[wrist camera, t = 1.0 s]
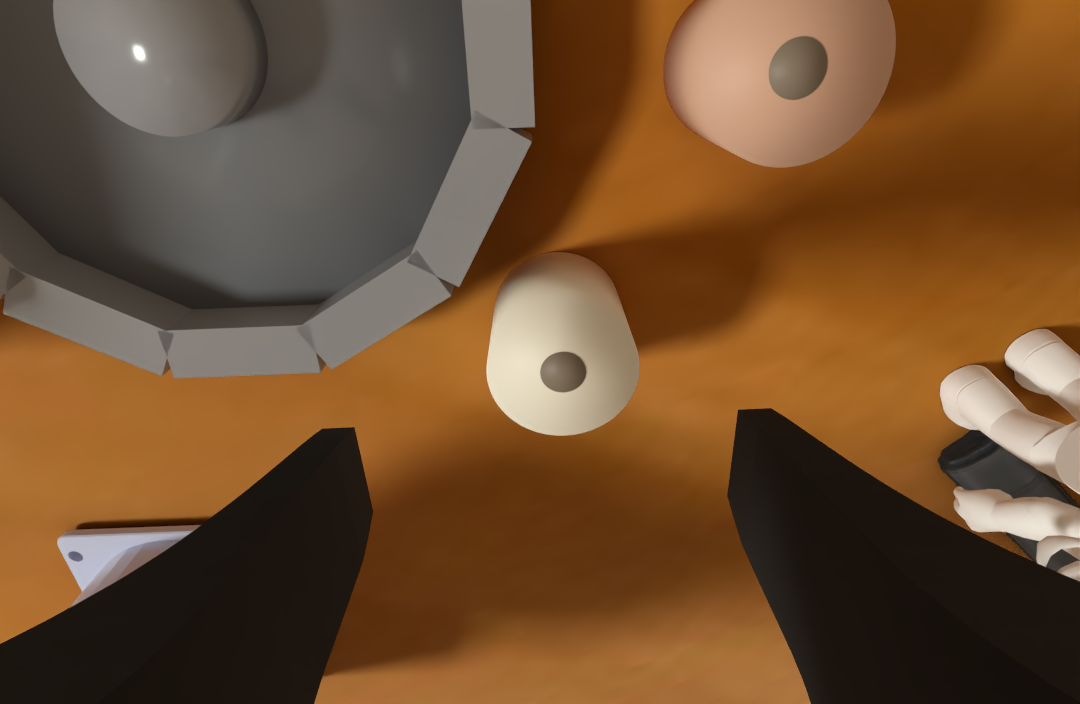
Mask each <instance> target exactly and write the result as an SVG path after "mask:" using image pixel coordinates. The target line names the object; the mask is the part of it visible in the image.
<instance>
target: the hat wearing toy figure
mask: <svg viewBox="0 0 1080 704" xmlns="http://www.w3.org/2000/svg"><path fill="white" fill-rule="evenodd" d="M1005 361H1006V365H1007V366H1008V367H1009V368H1011V369H1012V370H1013V371H1014V374H1015V380H1016V381H1017V382H1018V383H1019V384H1020V385H1021V386H1022V387H1023V388H1025V389H1027V390H1029V391H1032V392H1035V393H1039V394H1044V395H1049V396H1050V397H1051V398H1052V399H1054V400H1055V401H1056V402H1057V403H1059V404H1060V405H1061V406H1062V407H1063V408H1065V409H1066V410H1067V411H1068V412H1069V413H1070V414H1071V415H1072V416H1073V417H1074V418H1075V419H1076V420H1077V421H1076V422H1073V423H1071V424H1069V425H1065V424H1062V423H1060V422H1057V421H1054V420H1051V419H1049V418H1046V417H1043V416H1040V415H1036V414H1034V413H1032V412H1030V411H1028V410H1027V409H1026V408H1025V407H1024V405H1023V404H1022V403H1021V402H1020V401H1019V400H1018V399H1017V398H1016V397H1015V396H1014V395H1013V393H1012V392H1011V391H1010V390H1009V389H1008V388H1007V387H1006V386H1005V385H1004V384H1003V383H1002V382H1001V381H999V380H998V379H997V378H996V377H995V376H994V375H993V374H992V373H991V372H990V371H989V370H988V369H987V368H986V367H984V366H980V365H967V366H965V367H962V368H960V369H957V370H955V371H954V372H952V373H950V374H949V375H948V376H947V377H946V378H945V379H944V380H943V382H942V383H941V388H940V397H941V401H942V405H943V409H944V412H945V413H946V415H947V417H948V418H950V419H951V420H952V421H953V422H955V423H956V424H957V425H959V426H962V427H964V428H967V429H970V430H980V431H981V432H982V433H984V434H985V435H986V436H988V437H989V438H990V439H992V440H993V441H995V442H996V443H997V444H999V445H1000V446H1002V447H1003V448H1005V449H1006V450H1007V451H1009V452H1010V453H1012V454H1013V455H1015V456H1016V457H1018V458H1020V459H1021V460H1023V461H1025V462H1027V463H1028V464H1030V465H1032V466H1033V467H1035V468H1036V469H1037V470H1039V471H1041V472H1043V473H1045V474H1047V475H1048V476H1050V477H1052V478H1054V479H1056V480H1058V481H1060V482H1062V483H1064V484H1066V485H1067V486H1068V487H1069V488H1071V489H1072V490H1074V491H1075V492H1077V493H1078V494H1079V495H1080V356H1079V355H1078V354H1077V353H1076V352H1075V351H1074V350H1072V349H1071V348H1070V347H1069V346H1068V345H1067V344H1065V343H1064V342H1063V341H1062V340H1061V339H1060V338H1059V337H1058V336H1056V335H1055V334H1054V333H1053V332H1051V331H1050V330H1048V329H1036V330H1033V331H1030V332H1028V333H1026V334H1024V335H1022V336H1021V337H1019V338H1018V339H1016V340H1015V341H1014V342H1013V343H1012V344H1011V345H1010V346H1009V348H1008V349H1007V351H1006V353H1005ZM953 492H954V495H955V497H956V498H955V500H954V509H955V510H956V512H957V513H958V514H959V515H960V516H961V517H962V518H963V519H964V520H965V521H966V523H967V525H968V526H969V527H970V528H971V530H974V531H977V532H998V531H1000V532H1008V533H1011V534H1014V535H1017V536H1020V537H1023V538H1027V539H1032V540H1036V541H1040V542H1038V543H1037V555H1036V560H1037V563H1038V564H1040V565H1042V566H1045V567H1046V565H1047V563H1048V561H1049V559H1050V557H1051V556H1052V555H1053V554H1055V553H1056V552H1058V551H1059V550H1060V549H1063V550H1064V551H1066V552H1068V553H1069V554H1071V555H1072V556H1074V557H1075V558H1077V559H1078V560H1080V508H1077V507H1074V506H1072V505H1069V504H1066V503H1063V502H1061V501H1058V500H1056V499H1053V498H1049V497H1041V498H1040V497H1021V498H1016V499H1013V498H1012V497H1011V495H1009V494H1007V493H1005V492H1003V491H1001V490H999V489H984V490H972V491H968V490H964V489H963V488H962V487H960V486H958V487H956V488H955V489H954V491H953ZM1058 573H1061V574H1063V575H1065V576H1068V577H1070V578H1073V579H1075V580H1078V581H1080V561H1075V562H1073V563H1071V564H1069V565H1067V566H1064V567H1062V568H1060V569H1059V570H1058Z"/></svg>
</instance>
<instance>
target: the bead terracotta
mask: <svg viewBox="0 0 1080 704" xmlns="http://www.w3.org/2000/svg"><path fill="white" fill-rule="evenodd" d="M895 52H896V31H895V22H894V18H893V14H892V10H891V7H890V5H889V2H888V0H694V1H693V2H692V3H691V4H690V5H689V6H688V8H687V9H686V10H685V11H684V13H683V14H682V15H681V17H680V18H679V20H678V22H677V23H676V25H675V27H674V29H673V31H672V33H671V36H670V39H669V41H668V44H667V48H666V53H665V58H664V84H665V90H666V94H667V98H668V100H669V103H670V105H671V107H672V109H673V111H674V112H675V114H676V116H677V117H678V118H679V119H680V121H681V122H682V123H683V124H684V125H685V126H686V127H687V128H688V129H690V130H691V131H692V132H694V133H695V134H697V135H699V136H701V137H703V138H705V139H707V140H709V141H710V142H712V143H714V144H716V145H718V146H720V147H722V148H724V149H726V150H728V151H730V152H732V153H733V154H735V155H737V156H739V157H741V158H743V159H745V160H747V161H749V162H752V163H755V164H758V165H761V166H767V167H779V168H785V167H794V166H799V165H803V164H807V163H810V162H813V161H815V160H818V159H820V158H822V157H824V156H826V155H828V154H830V153H832V152H833V151H835V150H836V149H838V148H839V147H841V146H842V145H843V144H845V143H846V142H847V141H848V140H850V139H851V138H852V137H853V136H854V135H855V134H856V133H857V132H858V131H859V130H860V129H861V128H862V127H863V125H864V124H865V123H866V122H867V120H868V119H869V118H870V117H871V115H872V114H873V112H874V111H875V109H876V108H877V106H878V104H879V102H880V100H881V98H882V97H883V95H884V93H885V90H886V88H887V85H888V82H889V80H890V77H891V73H892V69H893V65H894V59H895Z"/></svg>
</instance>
